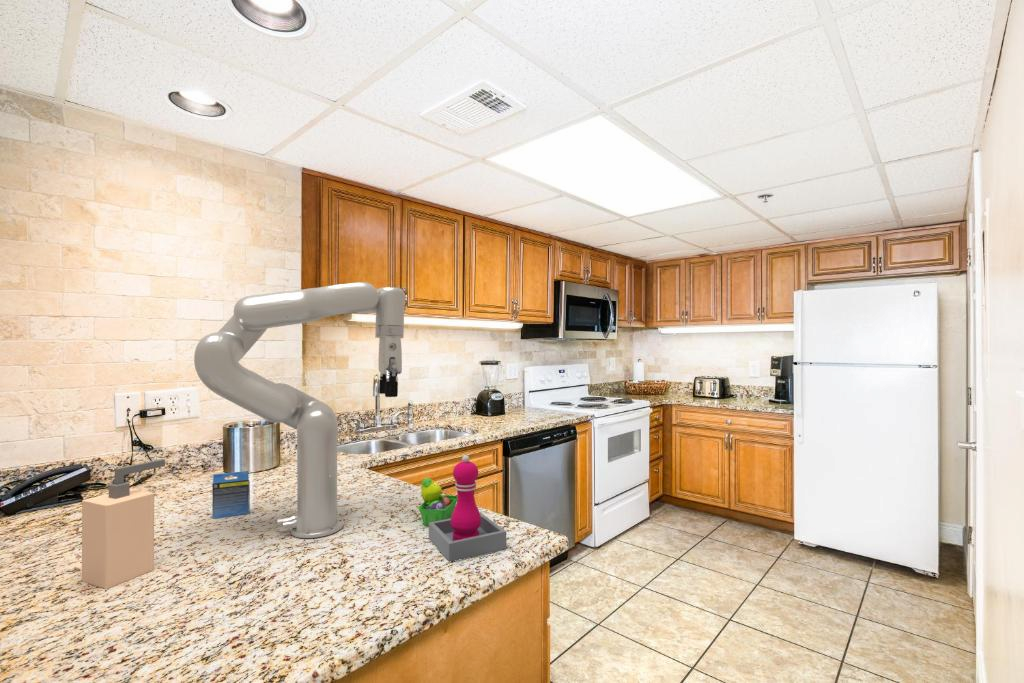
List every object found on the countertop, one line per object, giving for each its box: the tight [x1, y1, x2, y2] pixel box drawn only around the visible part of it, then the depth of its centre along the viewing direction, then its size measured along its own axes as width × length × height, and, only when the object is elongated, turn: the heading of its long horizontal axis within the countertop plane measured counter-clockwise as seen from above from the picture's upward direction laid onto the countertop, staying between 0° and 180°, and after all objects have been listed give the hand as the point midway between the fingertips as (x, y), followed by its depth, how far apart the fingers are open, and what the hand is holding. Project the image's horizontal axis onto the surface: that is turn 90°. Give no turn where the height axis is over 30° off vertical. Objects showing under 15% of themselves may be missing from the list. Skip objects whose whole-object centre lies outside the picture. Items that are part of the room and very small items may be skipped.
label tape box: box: [211, 470, 251, 520], centre depth 131 cm, size 9×4×12 cm, turn 115°
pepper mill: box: [450, 454, 481, 541], centre depth 111 cm, size 7×7×20 cm
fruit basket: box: [418, 477, 458, 527], centre depth 126 cm, size 11×9×11 cm
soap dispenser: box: [81, 458, 166, 590], centre depth 98 cm, size 13×9×22 cm
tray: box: [428, 512, 507, 563], centre depth 110 cm, size 14×14×4 cm
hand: (388, 395), depth 128 cm, fingers open, 9 cm apart
